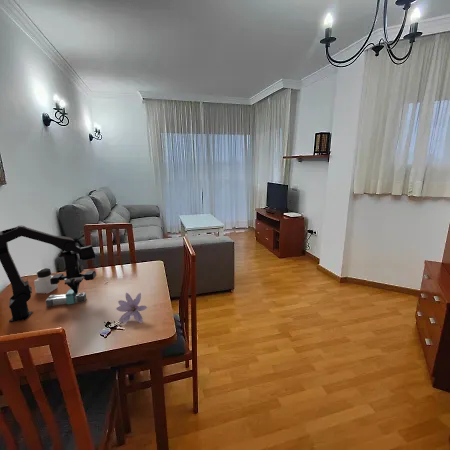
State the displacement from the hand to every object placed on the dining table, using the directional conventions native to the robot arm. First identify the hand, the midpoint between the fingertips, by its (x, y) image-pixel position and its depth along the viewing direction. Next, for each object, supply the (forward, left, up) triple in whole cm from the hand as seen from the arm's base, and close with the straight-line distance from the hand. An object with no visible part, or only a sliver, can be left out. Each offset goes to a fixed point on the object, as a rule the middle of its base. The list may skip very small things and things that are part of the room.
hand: (76, 293), depth 127 cm
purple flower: (-22, -28, -5) cm, 36 cm away
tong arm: (+2, +7, -4) cm, 8 cm away
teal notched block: (0, +2, -4) cm, 5 cm away
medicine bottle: (+17, +20, -5) cm, 26 cm away
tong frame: (0, +5, -4) cm, 6 cm away
